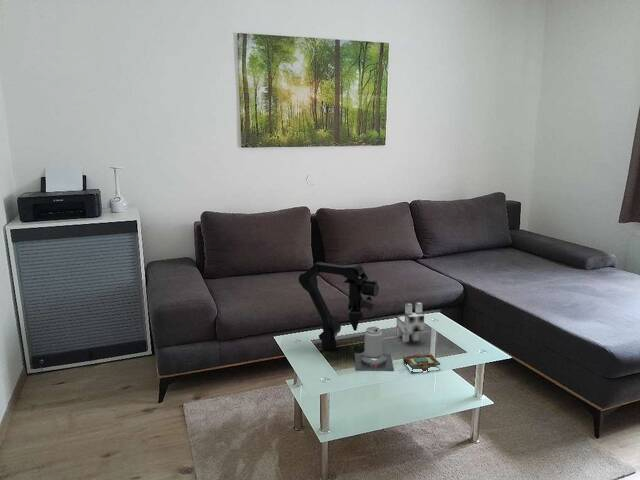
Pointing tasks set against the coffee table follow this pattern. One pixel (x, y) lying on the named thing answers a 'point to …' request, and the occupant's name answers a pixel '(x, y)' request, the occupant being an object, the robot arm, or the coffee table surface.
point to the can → (373, 342)
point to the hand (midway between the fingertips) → (354, 326)
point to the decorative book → (421, 361)
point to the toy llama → (410, 323)
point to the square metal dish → (373, 362)
